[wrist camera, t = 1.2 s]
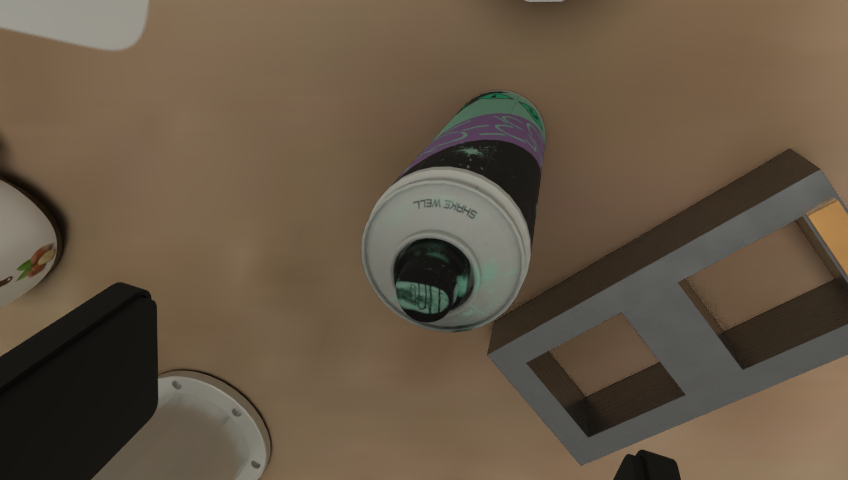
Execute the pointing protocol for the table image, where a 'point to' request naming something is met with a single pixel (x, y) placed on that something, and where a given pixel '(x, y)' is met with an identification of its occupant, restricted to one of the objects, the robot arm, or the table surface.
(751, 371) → the grey rectangular grid frame
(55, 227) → the spread jar
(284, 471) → the table surface
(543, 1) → the can
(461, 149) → the spray can
